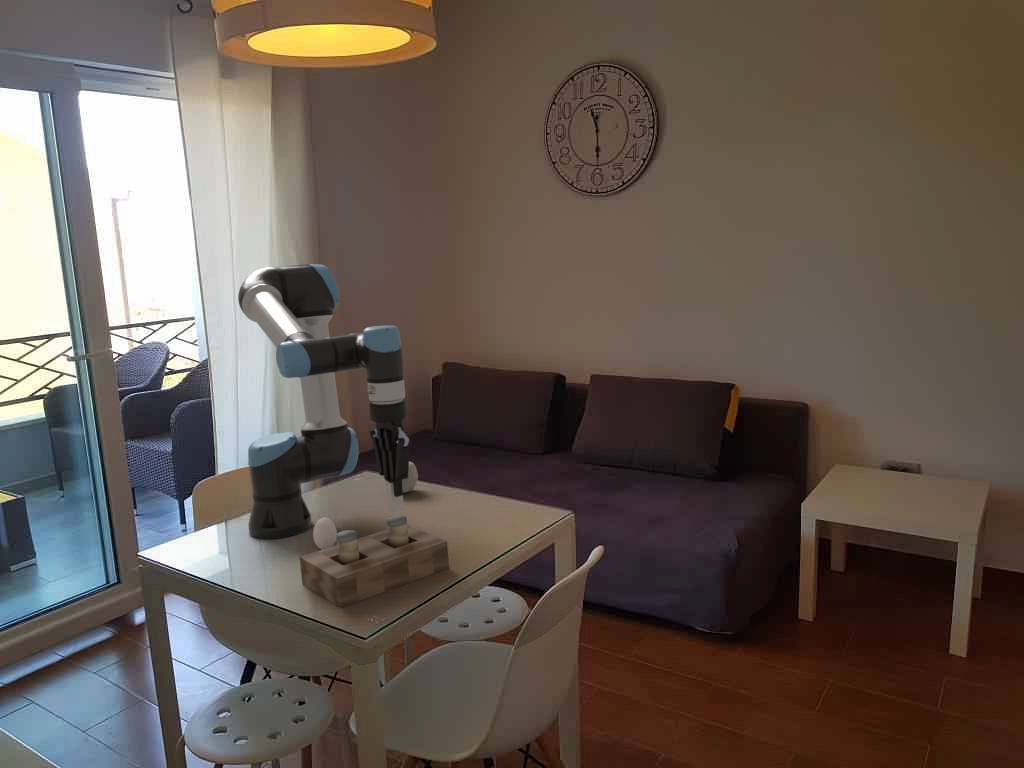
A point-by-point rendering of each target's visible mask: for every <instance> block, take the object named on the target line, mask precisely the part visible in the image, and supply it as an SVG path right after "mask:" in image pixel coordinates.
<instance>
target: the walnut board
mask: <svg viewBox="0 0 1024 768" xmlns="http://www.w3.org/2000/svg"><path fill="white" fill-rule="evenodd" d="M407 528H408V541H409V544H407V545H403V546H400V547H397V548H392V547H390V546H389V540H388V528H387V529H385V530H382V531H381V530H380V531H378V532H375V533H372V534H369V535H365V536H363V537H359V538H358V547H359V558H360V560H358V561H355V562H352V563H349V564H346V565H344V564H340V563H339V559H338V549H337V544H335V545H334V546H333V547H330V548H327V549H323V550H322V549H319V550H317V551H314V552H310V553H308V554H304V555H301V556H299V564H300V574H301V583H302V585H303V586H305V587H306V588H308V589H309V590H311V591H313V592H314V593H316V594H317V595H319V596H321V597H322V598H323V599H326V600H327V601H329V602H330V603H331V604H333V605H335V606H337V608H339V609H341V608H344V607H346V606H349V605H351V604H355V603H357V602H360V601H363V600H366V599H368V598H371V597H374V596H376V595H378V594H382V593H384V592H388V591H389V590H392V589H395V588H396V589H397V588H399V587H401V586H404V585H406V584H409V583H412V582H414V581H417V580H420V579H423V578H425V577H428V576H431V575H434V574H437V573H439V572H442V571H445V570H447V569H450V563H449V547H448V541H447V540H445V539H442V538H440V537H438V536H435V535H433V534H431V533H428V532H426V531H423V530H421V529H419V528H416V527H413V526H412V525H409V524H407Z"/></svg>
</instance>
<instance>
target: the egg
mask: <svg viewBox="0 0 1024 768" xmlns="http://www.w3.org/2000/svg"><path fill="white" fill-rule="evenodd" d="M337 533H338V531H337V528H336V525H335V523H334V522H333V521H332V520H331V519H330V518H329V517H321V518H319V519H318V520H317V521H316V523H315V524H314V527H313V532H312V537H313V539H312V540H313V541H314V543H315V545H316V547H317V548H319V550H323V549H327V548H330V547H333V546H335V545H336V544H337V538H336V534H337Z"/></svg>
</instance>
